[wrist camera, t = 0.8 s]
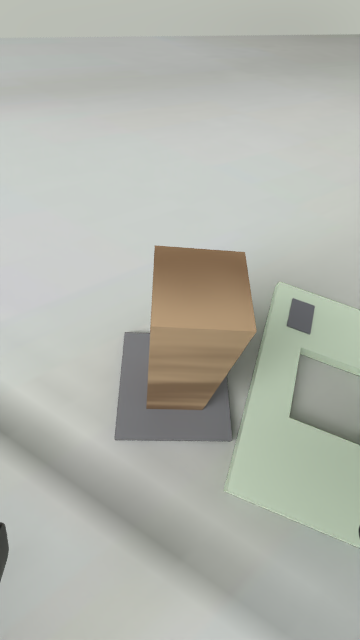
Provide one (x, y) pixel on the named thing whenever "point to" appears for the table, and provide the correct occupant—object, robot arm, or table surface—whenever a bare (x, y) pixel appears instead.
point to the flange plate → (291, 435)
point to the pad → (163, 422)
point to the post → (196, 324)
